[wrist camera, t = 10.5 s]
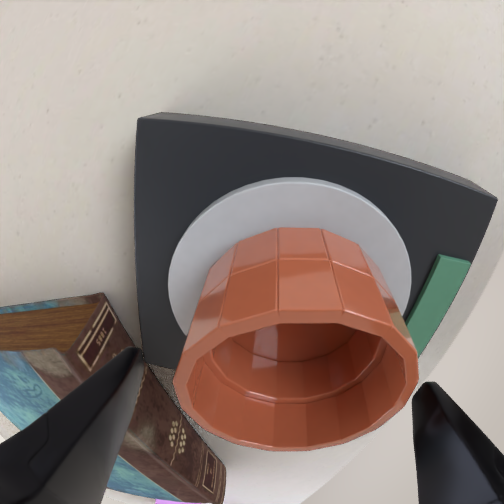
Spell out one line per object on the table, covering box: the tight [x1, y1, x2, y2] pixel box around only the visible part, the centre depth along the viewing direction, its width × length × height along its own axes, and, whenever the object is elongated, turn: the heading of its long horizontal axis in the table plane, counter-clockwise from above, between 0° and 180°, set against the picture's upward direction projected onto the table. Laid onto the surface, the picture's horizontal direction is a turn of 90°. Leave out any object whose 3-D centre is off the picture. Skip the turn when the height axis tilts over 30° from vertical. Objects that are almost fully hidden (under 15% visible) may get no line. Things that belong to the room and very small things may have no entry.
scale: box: [134, 112, 498, 370], centre depth 13 cm, size 14×12×3 cm
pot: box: [172, 227, 419, 451], centre depth 10 cm, size 7×7×4 cm
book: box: [0, 293, 226, 504], centre depth 21 cm, size 23×18×5 cm
